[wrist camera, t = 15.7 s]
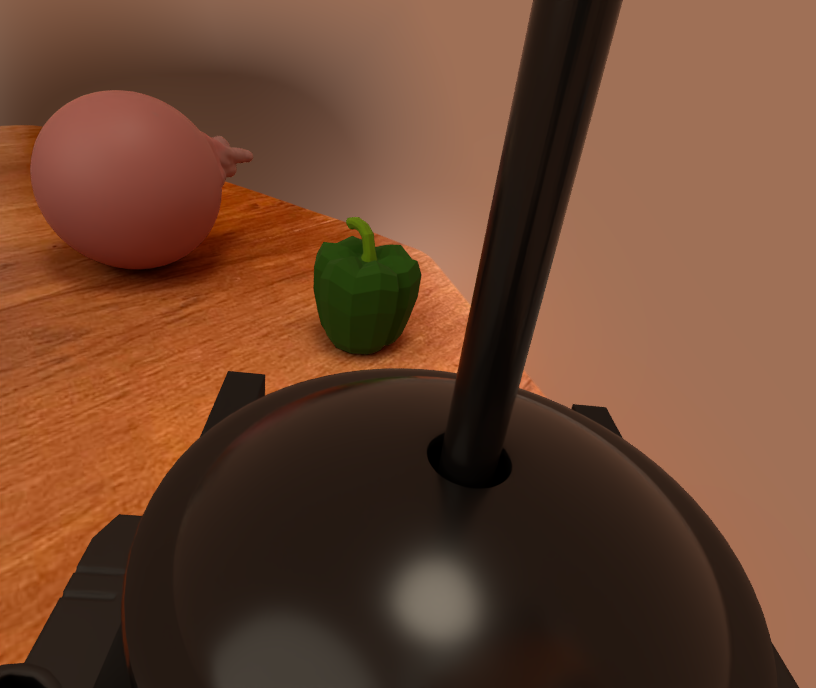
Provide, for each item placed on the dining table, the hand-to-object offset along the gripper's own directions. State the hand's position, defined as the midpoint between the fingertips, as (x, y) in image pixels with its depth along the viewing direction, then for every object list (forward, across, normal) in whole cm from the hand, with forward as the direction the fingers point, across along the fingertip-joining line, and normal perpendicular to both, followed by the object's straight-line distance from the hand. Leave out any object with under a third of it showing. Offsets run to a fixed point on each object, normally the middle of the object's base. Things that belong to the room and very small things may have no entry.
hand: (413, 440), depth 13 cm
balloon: (+45, -21, -17) cm, 52 cm away
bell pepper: (+33, -1, -17) cm, 37 cm away
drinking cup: (-5, 0, -11) cm, 12 cm away
